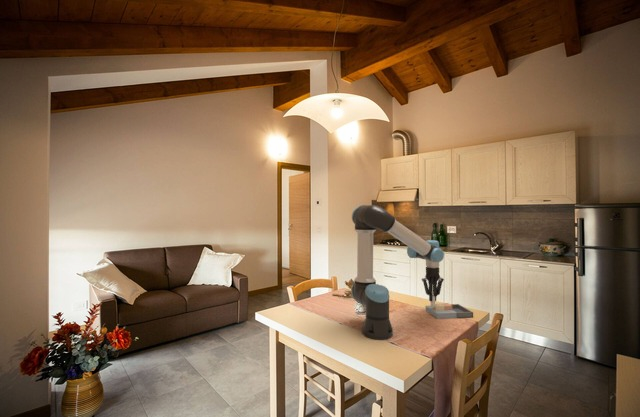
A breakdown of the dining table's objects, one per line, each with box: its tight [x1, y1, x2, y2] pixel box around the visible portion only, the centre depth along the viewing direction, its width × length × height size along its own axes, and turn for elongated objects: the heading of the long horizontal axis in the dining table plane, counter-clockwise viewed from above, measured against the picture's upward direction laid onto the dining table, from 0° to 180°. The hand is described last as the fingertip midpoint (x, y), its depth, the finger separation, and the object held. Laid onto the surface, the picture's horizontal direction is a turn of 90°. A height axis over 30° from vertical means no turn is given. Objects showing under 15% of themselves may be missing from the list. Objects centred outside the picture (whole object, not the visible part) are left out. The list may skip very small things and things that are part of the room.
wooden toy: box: [332, 278, 357, 302], centre depth 214 cm, size 22×10×14 cm, turn 60°
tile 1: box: [432, 303, 444, 311], centre depth 178 cm, size 5×5×2 cm
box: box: [449, 303, 474, 319], centre depth 179 cm, size 15×10×3 cm, turn 6°
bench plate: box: [425, 305, 458, 320], centre depth 178 cm, size 14×12×3 cm
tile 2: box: [440, 302, 452, 310], centre depth 179 cm, size 5×5×2 cm
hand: (432, 306), depth 178 cm, fingers closed
